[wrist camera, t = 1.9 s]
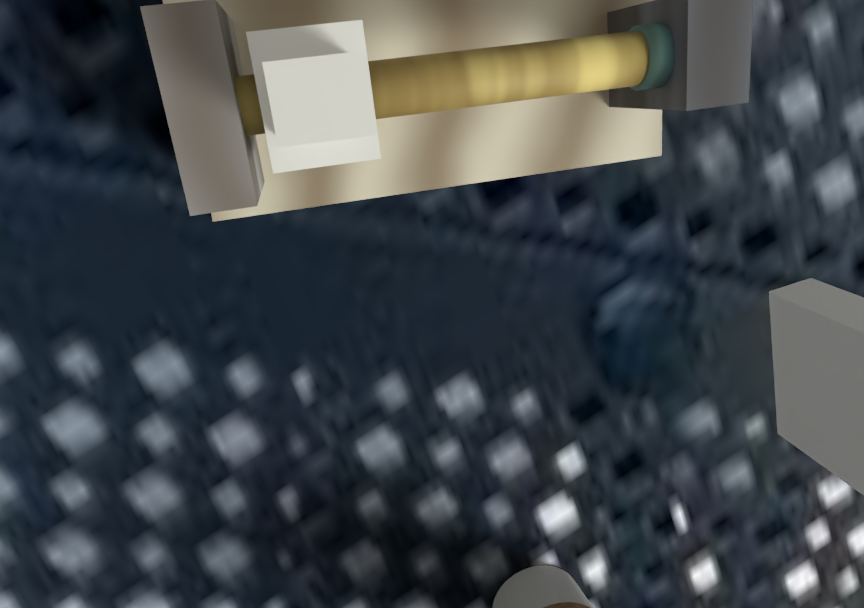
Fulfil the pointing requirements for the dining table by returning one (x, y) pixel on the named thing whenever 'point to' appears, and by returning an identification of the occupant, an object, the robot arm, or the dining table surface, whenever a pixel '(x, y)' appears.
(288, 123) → the sleeve
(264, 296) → the dining table surface
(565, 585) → the coffee cup
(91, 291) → the dining table surface
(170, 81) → the lead screw slide rig
